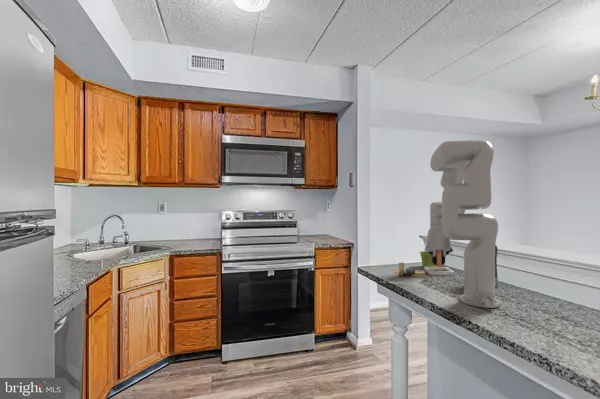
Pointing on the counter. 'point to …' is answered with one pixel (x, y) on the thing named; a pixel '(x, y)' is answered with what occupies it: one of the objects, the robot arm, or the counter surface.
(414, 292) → the counter surface
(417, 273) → the crank base
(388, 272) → the counter surface
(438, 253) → the pin
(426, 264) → the plant pot
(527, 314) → the counter surface
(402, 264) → the crank
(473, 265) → the robot arm
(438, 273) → the tray
